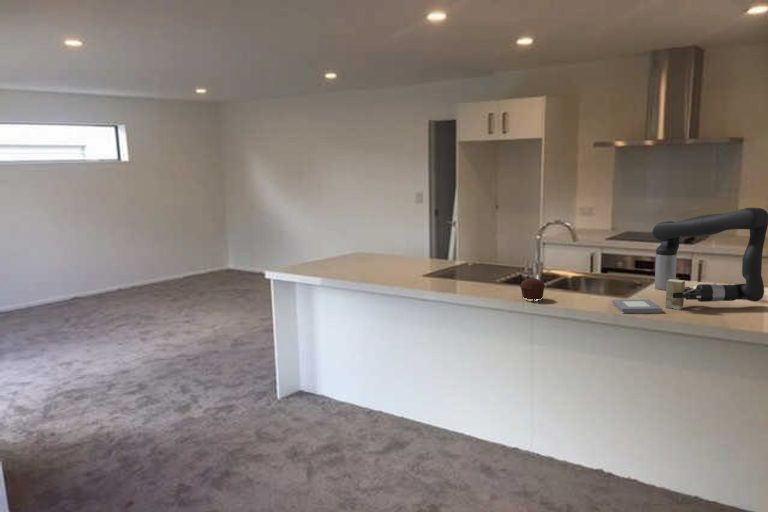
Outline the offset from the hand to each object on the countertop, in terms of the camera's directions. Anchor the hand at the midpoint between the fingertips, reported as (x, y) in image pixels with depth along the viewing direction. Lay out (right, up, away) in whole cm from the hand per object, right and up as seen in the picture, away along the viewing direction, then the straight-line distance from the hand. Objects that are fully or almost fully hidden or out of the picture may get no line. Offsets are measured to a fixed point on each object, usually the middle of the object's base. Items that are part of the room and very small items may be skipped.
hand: (669, 293), depth 252 cm
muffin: (-53, -5, +25) cm, 59 cm away
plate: (-14, -7, +3) cm, 15 cm away
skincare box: (+2, -7, +1) cm, 7 cm away
